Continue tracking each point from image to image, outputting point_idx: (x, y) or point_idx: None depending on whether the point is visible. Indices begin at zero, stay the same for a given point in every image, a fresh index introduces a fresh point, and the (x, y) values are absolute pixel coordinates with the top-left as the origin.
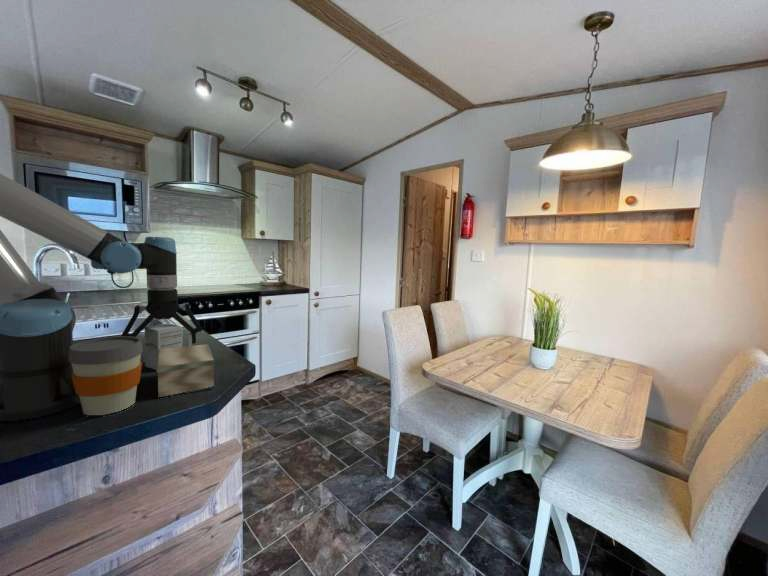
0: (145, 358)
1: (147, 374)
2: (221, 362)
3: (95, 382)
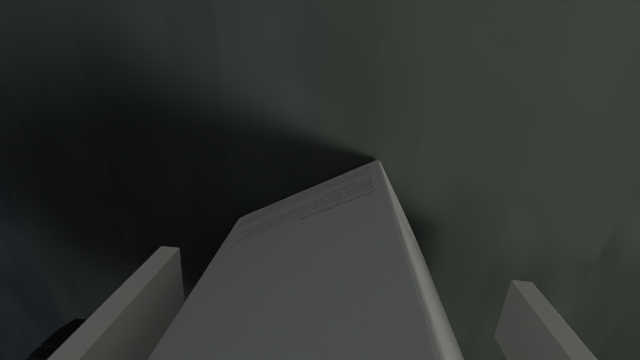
0: (219, 250)
1: None
2: (635, 346)
3: None
